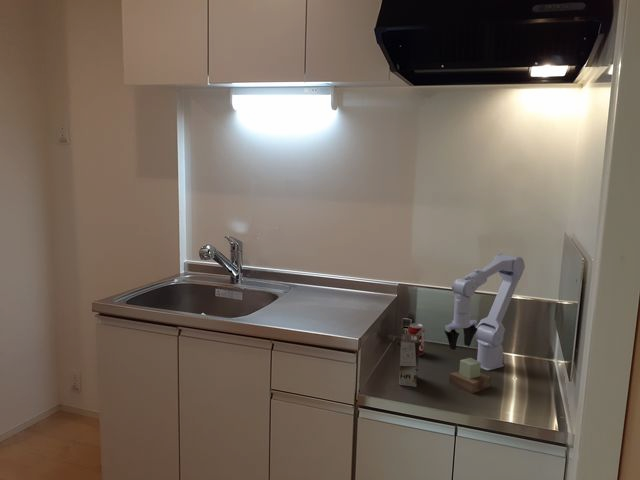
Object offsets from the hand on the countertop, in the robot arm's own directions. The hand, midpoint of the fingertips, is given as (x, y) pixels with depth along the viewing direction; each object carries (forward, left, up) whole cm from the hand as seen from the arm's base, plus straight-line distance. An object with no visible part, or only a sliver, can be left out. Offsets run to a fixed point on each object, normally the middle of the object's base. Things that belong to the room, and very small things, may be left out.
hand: (459, 347), depth 194 cm
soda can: (+1, -23, -11) cm, 26 cm away
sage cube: (+3, +8, -7) cm, 11 cm away
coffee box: (+21, -4, -11) cm, 23 cm away
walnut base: (+4, +9, -11) cm, 14 cm away
